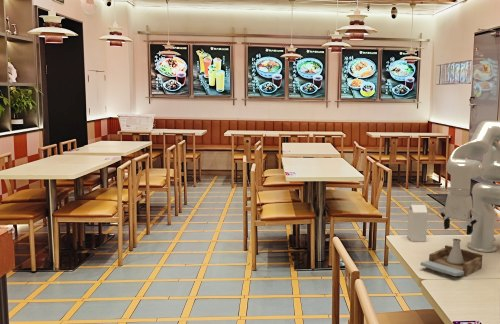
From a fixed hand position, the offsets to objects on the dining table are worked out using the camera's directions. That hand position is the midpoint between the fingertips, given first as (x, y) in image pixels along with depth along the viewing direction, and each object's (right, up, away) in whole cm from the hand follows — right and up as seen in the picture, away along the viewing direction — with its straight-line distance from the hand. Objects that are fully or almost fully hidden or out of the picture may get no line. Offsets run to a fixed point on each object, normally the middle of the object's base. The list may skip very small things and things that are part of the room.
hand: (457, 231), depth 198 cm
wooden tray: (0, -15, +2) cm, 16 cm away
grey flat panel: (-6, -14, -3) cm, 16 cm away
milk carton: (-4, -10, +39) cm, 40 cm away
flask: (0, -14, +2) cm, 14 cm away
